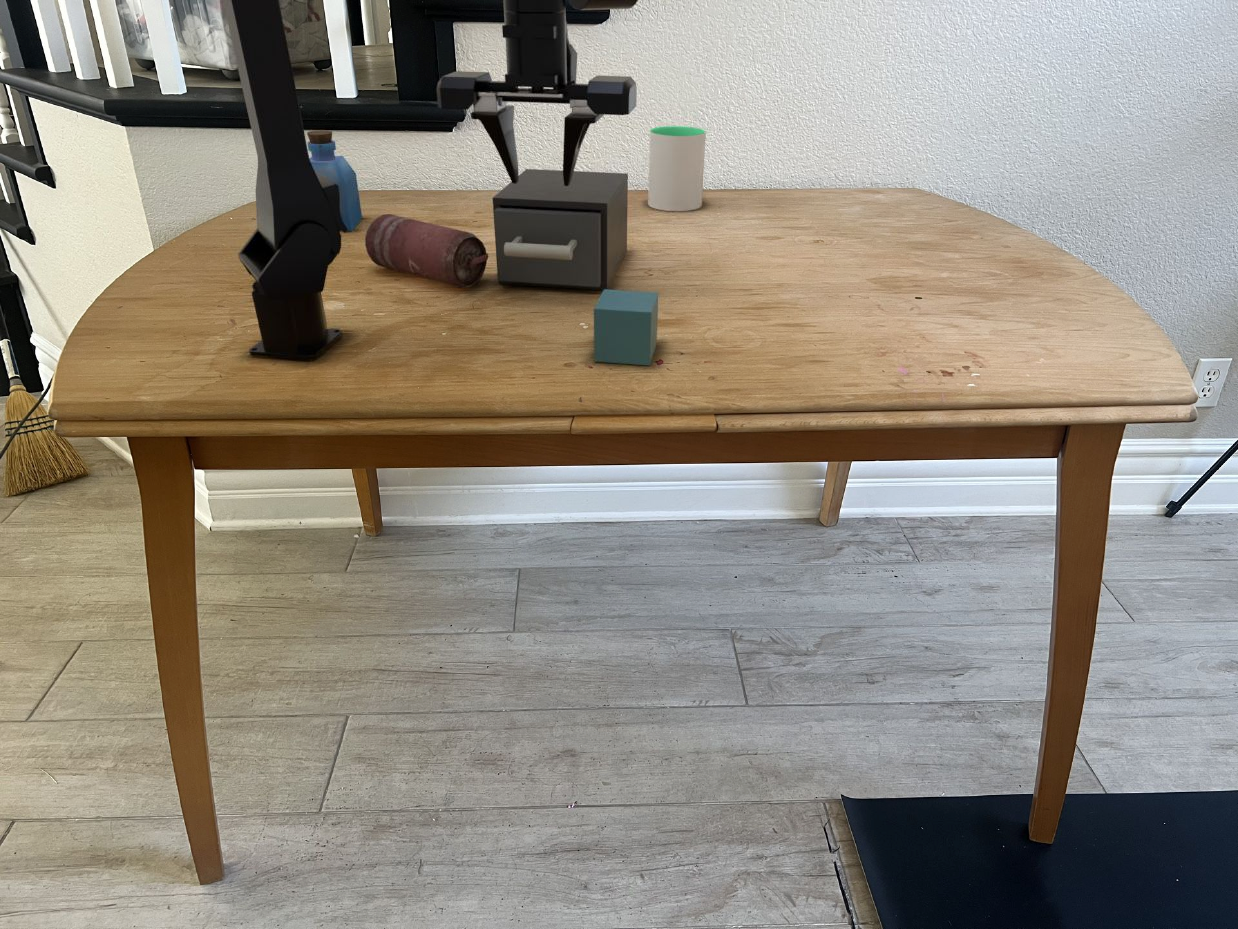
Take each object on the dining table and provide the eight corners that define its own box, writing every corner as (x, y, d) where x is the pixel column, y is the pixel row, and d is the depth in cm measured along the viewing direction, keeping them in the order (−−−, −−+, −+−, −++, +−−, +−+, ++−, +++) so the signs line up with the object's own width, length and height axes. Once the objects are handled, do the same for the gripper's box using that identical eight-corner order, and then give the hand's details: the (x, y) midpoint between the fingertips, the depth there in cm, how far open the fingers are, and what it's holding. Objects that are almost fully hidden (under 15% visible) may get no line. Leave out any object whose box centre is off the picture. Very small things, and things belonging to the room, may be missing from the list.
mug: (635, 193, 134) (636, 122, 129) (684, 190, 136) (687, 120, 131) (656, 212, 124) (658, 137, 119) (709, 209, 126) (713, 134, 121)
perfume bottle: (362, 218, 120) (349, 128, 114) (352, 231, 115) (337, 136, 108) (317, 218, 120) (302, 128, 114) (305, 231, 114) (288, 136, 108)
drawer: (591, 301, 90) (591, 227, 86) (486, 294, 91) (481, 221, 87) (618, 251, 105) (619, 186, 101) (528, 246, 107) (525, 181, 102)
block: (649, 366, 78) (651, 312, 75) (593, 361, 79) (593, 308, 76) (656, 344, 82) (658, 292, 80) (603, 340, 83) (603, 288, 80)
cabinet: (607, 290, 95) (607, 203, 90) (497, 283, 97) (492, 197, 92) (626, 251, 108) (628, 173, 103) (529, 246, 109) (526, 168, 104)
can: (409, 253, 105) (495, 275, 98) (370, 274, 101) (457, 298, 94) (397, 205, 101) (486, 224, 94) (357, 225, 97) (446, 246, 90)
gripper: (645, 8, 85) (642, 171, 93) (465, 5, 87) (476, 163, 95) (629, 15, 76) (626, 195, 84) (427, 11, 78) (443, 186, 86)
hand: (541, 183), depth 87 cm, fingers open, 5 cm apart
